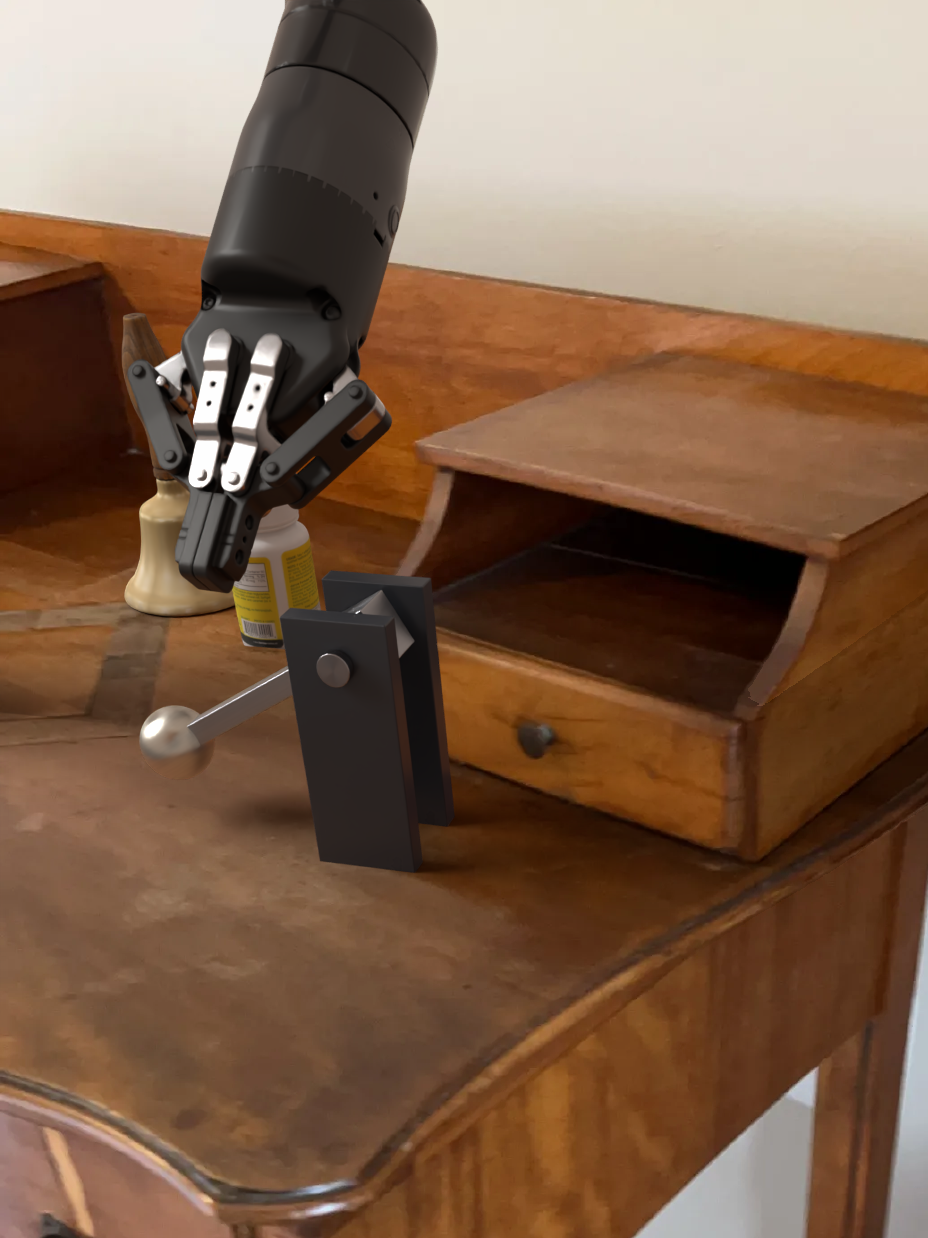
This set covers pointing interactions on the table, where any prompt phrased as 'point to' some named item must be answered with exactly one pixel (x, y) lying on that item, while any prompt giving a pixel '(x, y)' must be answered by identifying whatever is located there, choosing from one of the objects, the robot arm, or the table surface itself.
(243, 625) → the supplement bottle
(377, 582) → the bracket
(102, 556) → the table surface
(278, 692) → the tap lever
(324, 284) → the robot arm
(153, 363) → the hand bell
